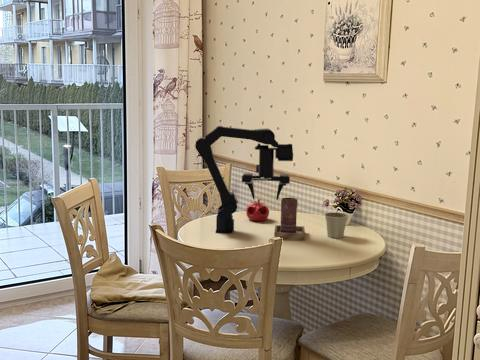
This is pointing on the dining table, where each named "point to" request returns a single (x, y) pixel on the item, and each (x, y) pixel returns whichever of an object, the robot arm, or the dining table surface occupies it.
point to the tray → (290, 236)
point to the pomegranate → (257, 211)
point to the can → (288, 215)
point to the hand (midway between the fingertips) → (265, 199)
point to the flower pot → (335, 224)
